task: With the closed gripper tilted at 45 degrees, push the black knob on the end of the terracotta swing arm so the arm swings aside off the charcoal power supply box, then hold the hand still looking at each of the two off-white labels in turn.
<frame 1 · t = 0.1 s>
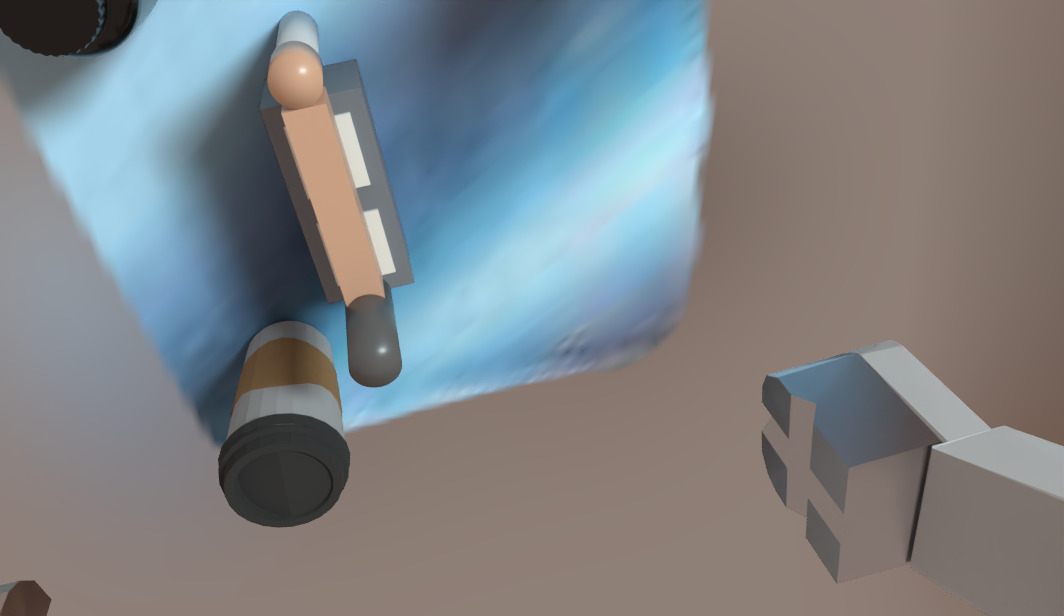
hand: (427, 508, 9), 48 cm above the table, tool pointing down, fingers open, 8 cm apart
power supply box: (340, 166, 57), on the table
coffee cup: (290, 349, 64), on the table
swing arm: (336, 219, 45), point 12 cm above the table, hinge at 0.0°
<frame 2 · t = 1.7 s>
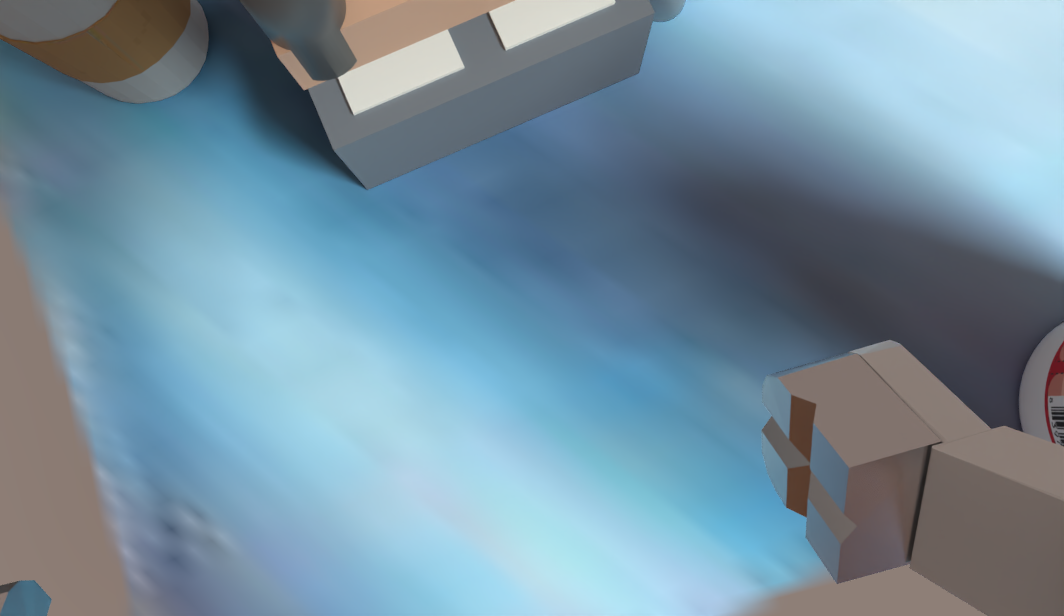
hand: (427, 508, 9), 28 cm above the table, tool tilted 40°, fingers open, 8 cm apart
power supply box: (478, 75, 39), on the table
coffee cup: (151, 46, 39), on the table
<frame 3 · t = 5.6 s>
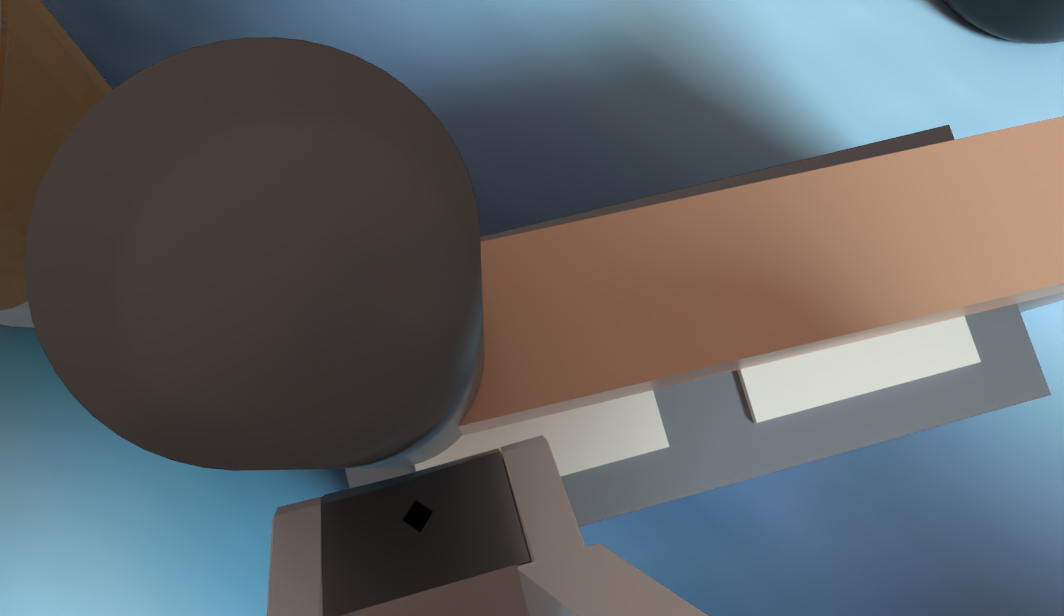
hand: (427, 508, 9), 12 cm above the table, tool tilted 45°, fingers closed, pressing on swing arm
power supply box: (629, 371, 22), on the table
coffee cup: (64, 219, 22), on the table
swing arm: (937, 209, 10), point 12 cm above the table, hinge at -1.4°, touching gripper
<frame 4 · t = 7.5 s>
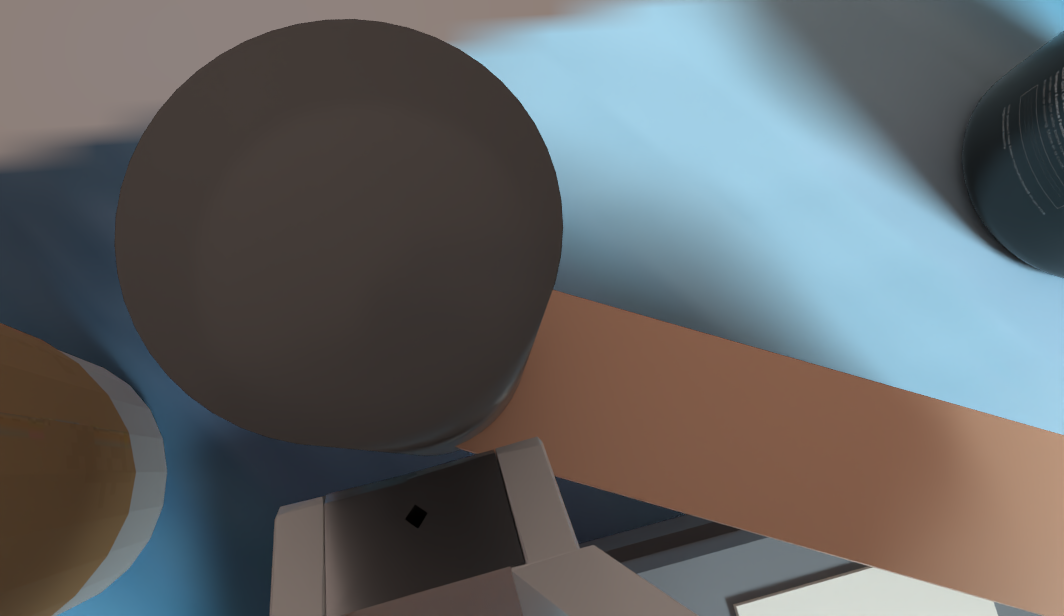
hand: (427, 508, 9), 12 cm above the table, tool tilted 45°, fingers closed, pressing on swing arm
coffee cup: (54, 482, 21), on the table
swing arm: (1008, 497, 10), point 12 cm above the table, hinge at -30.0°, touching gripper
supplement bottle: (1061, 176, 24), on the table
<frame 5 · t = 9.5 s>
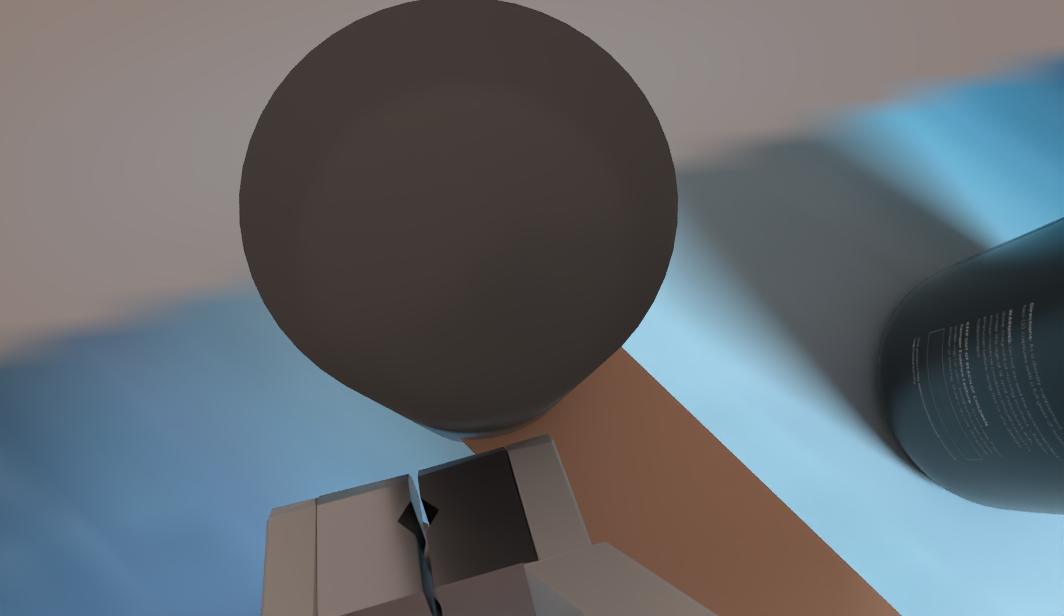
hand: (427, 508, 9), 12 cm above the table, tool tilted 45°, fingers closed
supplement bottle: (984, 383, 23), on the table
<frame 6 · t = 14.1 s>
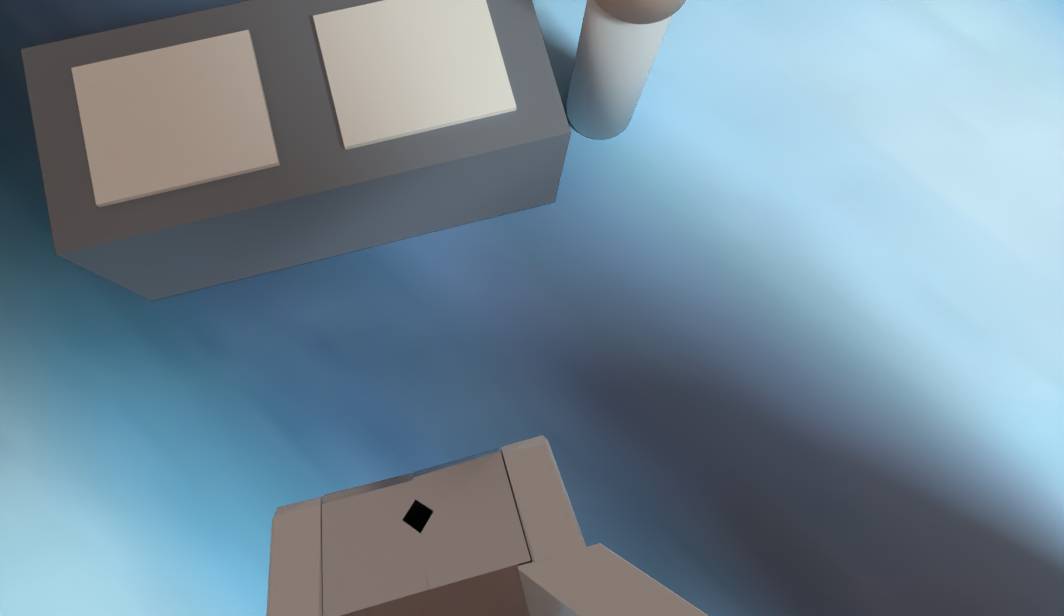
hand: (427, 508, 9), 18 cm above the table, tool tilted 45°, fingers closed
power supply box: (338, 169, 28), on the table
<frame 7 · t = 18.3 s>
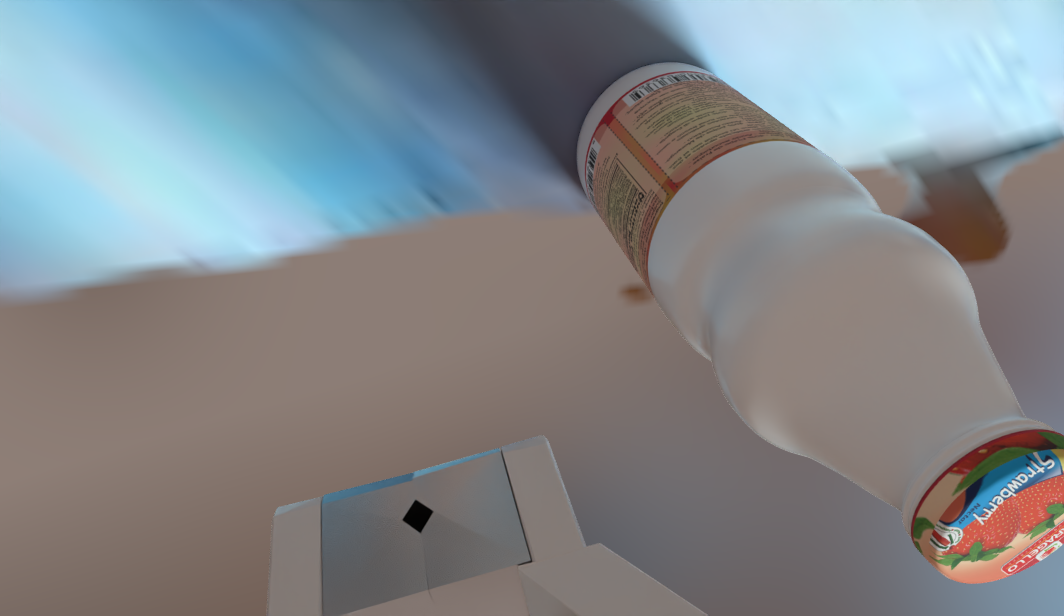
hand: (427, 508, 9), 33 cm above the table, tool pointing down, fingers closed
fruit juice: (653, 142, 45), on the table
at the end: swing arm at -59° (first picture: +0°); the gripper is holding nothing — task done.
